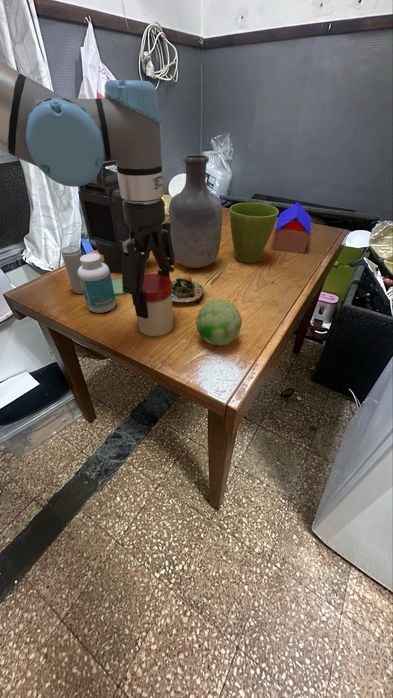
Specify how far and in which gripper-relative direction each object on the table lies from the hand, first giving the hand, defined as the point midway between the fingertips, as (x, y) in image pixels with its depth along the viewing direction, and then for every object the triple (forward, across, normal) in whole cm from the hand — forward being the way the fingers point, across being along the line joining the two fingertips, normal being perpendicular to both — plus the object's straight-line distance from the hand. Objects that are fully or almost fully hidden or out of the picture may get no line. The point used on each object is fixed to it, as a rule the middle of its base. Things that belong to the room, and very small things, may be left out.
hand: (154, 306), depth 66 cm
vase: (+6, +34, +8) cm, 36 cm away
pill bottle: (+6, 0, +17) cm, 18 cm away
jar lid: (-6, 0, 0) cm, 6 cm away
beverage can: (+6, +4, +28) cm, 29 cm away
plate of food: (+6, +15, +1) cm, 16 cm away
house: (+6, +70, -15) cm, 72 cm away
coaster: (+6, +10, +20) cm, 23 cm away
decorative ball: (+6, +2, -16) cm, 17 cm away
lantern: (+6, +23, +27) cm, 36 cm away
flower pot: (+6, +47, -6) cm, 48 cm away
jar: (+6, 0, 0) cm, 6 cm away
